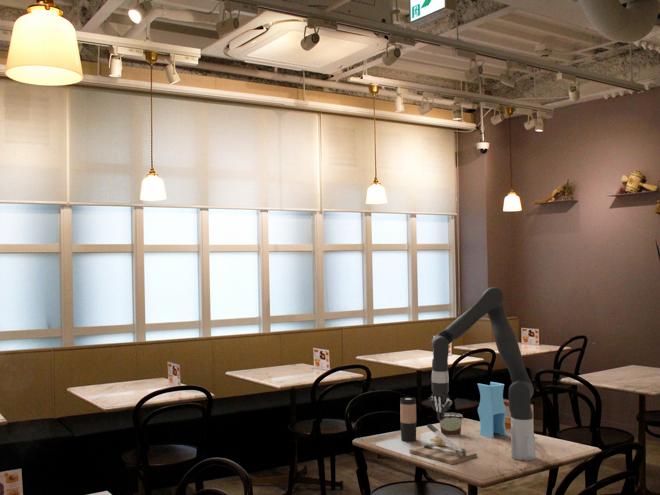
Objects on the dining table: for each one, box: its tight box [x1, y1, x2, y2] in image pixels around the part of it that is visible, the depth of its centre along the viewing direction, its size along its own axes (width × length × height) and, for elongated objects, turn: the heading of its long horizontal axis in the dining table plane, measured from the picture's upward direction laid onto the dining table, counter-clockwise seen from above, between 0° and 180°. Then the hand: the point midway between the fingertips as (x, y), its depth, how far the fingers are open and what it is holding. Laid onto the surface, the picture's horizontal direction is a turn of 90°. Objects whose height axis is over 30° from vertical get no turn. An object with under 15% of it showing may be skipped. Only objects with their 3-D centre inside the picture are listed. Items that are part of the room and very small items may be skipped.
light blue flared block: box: [477, 381, 508, 439], centre depth 325 cm, size 10×10×25 cm
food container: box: [439, 412, 464, 437], centre depth 327 cm, size 12×6×10 cm, turn 84°
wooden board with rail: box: [409, 442, 478, 465], centre depth 289 cm, size 24×17×4 cm
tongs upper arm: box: [426, 423, 463, 453], centre depth 289 cm, size 20×2×1 cm, turn 40°
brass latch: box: [429, 435, 447, 446], centre depth 298 cm, size 4×7×4 cm, turn 130°
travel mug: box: [399, 396, 417, 443], centre depth 316 cm, size 8×8×20 cm
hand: (440, 420), depth 291 cm, fingers closed
